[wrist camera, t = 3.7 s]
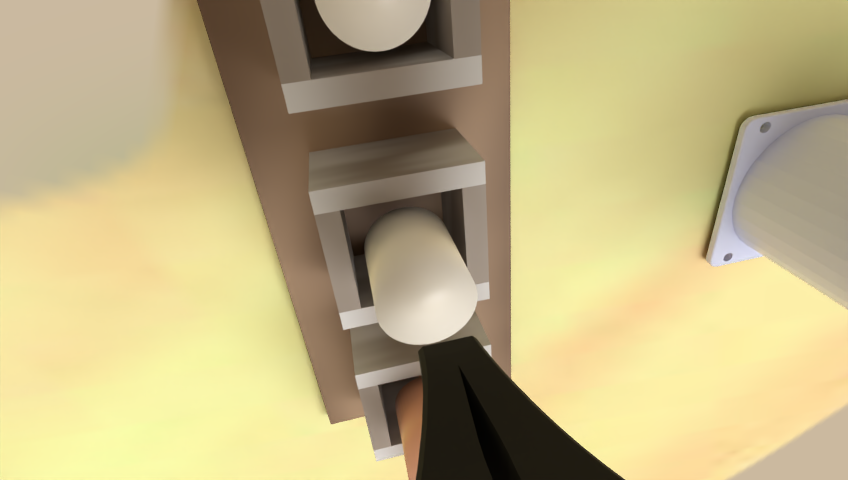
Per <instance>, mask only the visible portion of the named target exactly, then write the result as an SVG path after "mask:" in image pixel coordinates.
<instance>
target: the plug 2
mask: <svg viewBox="0 0 848 480" xmlns="http://www.w3.org/2000/svg"><path fill="white" fill-rule="evenodd" d="M364 251H365V258H366V263H367V269H368V274H369V279H370V285H371V290H372V296H373V301H374V307H375V312H376V317H377V320H378V323H379V325H380V327H381V328H382V329H383V331H384V332H385V333H386V334H387V335H389V336H390V337H392V338H393V339H395V340H397V341H400V342H403V343H407V344H413V345H423V344H431V343H435V342H439V341H441V340H444V339H446V338H448V337H450V336H452V335H453V334H455V333H456V332H458V331H459V330H460V329H461V328H462V327H463V326H465V324H466V323H467V322H468V321H469V320H470V318H471V317H472V315H473V313H474V311H475V308H476V305H477V299H478V293H477V288H476V285H475V282H474V280H473V278H472V277H471V275H470V273H469V271H468V269H467V267H466V265H465V263H464V261H463V259H462V257H461V255H460V253H459V251H458V249H457V247H456V245H455V244H454V242H453V240H452V238H451V236H450V234H449V232H448V230H447V228H446V226H445V224H444V223H443V221H442V220H441V219H440V218H439V217H438V216H437V215H436V214H434V213H433V212H431V211H429V210H426V209H423V208H419V207H402V208H398V209H395V210H392V211H390V212H388V213H386V214H384V215H383V216H381V217H380V218H379V219H378V220H377V221H376V222H375V223H374V224H373V225H372V226H371V228H370V229H369V231H368V233H367V236H366V239H365V243H364Z"/></svg>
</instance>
